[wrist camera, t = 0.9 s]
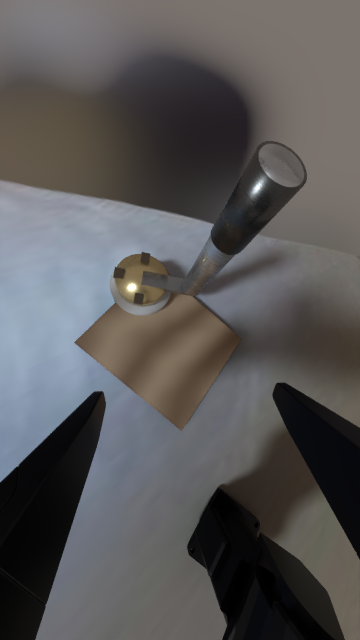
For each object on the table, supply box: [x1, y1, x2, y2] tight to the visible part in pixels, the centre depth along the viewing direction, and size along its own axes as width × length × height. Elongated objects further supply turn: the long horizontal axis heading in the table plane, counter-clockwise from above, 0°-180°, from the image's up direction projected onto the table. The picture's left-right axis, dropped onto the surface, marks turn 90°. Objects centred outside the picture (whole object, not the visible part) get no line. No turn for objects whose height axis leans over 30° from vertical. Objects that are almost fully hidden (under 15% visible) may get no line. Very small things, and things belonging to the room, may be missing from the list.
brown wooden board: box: [74, 271, 241, 431], centre depth 22 cm, size 19×14×2 cm
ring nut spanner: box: [113, 141, 307, 307], centre depth 15 cm, size 10×6×16 cm, turn 84°
